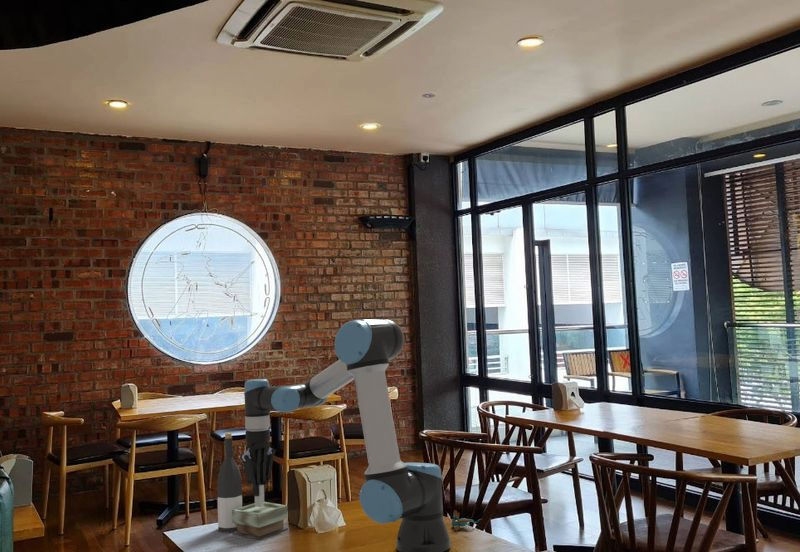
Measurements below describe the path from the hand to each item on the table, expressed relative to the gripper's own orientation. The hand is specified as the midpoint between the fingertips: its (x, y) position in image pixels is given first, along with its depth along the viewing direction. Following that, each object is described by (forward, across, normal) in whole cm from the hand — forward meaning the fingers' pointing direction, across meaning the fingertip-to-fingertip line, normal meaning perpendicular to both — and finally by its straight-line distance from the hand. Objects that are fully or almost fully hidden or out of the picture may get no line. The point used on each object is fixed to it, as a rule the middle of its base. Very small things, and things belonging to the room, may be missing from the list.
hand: (259, 506), depth 228 cm
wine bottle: (+8, +3, -11) cm, 14 cm away
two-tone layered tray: (+8, 0, 0) cm, 8 cm away
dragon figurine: (+7, -37, +56) cm, 68 cm away
